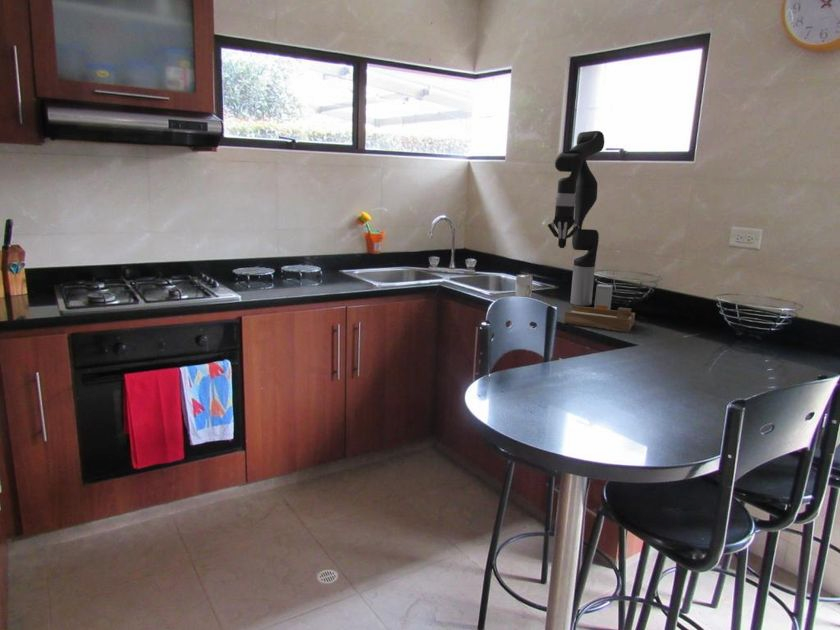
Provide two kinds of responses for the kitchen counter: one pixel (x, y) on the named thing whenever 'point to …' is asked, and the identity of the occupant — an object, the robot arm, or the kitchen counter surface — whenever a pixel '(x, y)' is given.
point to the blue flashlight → (523, 285)
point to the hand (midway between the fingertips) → (561, 247)
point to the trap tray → (598, 318)
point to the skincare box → (603, 296)
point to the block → (623, 313)
